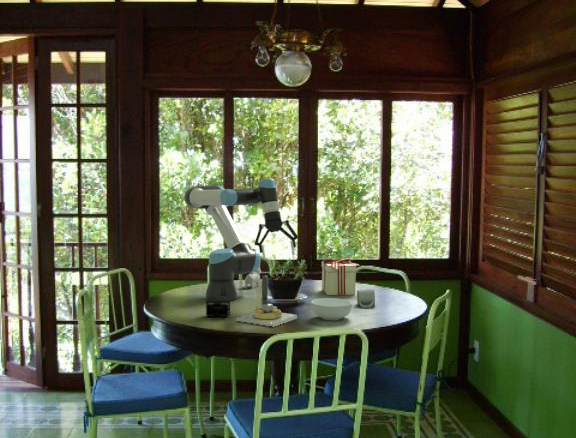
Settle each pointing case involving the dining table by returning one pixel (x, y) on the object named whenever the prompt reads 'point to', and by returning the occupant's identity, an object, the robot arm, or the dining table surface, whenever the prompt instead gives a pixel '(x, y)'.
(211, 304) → the end cap
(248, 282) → the dog figurine
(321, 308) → the cereal bowl
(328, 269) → the gift box
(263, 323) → the housing
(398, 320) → the dining table surface
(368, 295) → the ceramic mug
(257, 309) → the gold and grey piece
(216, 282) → the robot arm
